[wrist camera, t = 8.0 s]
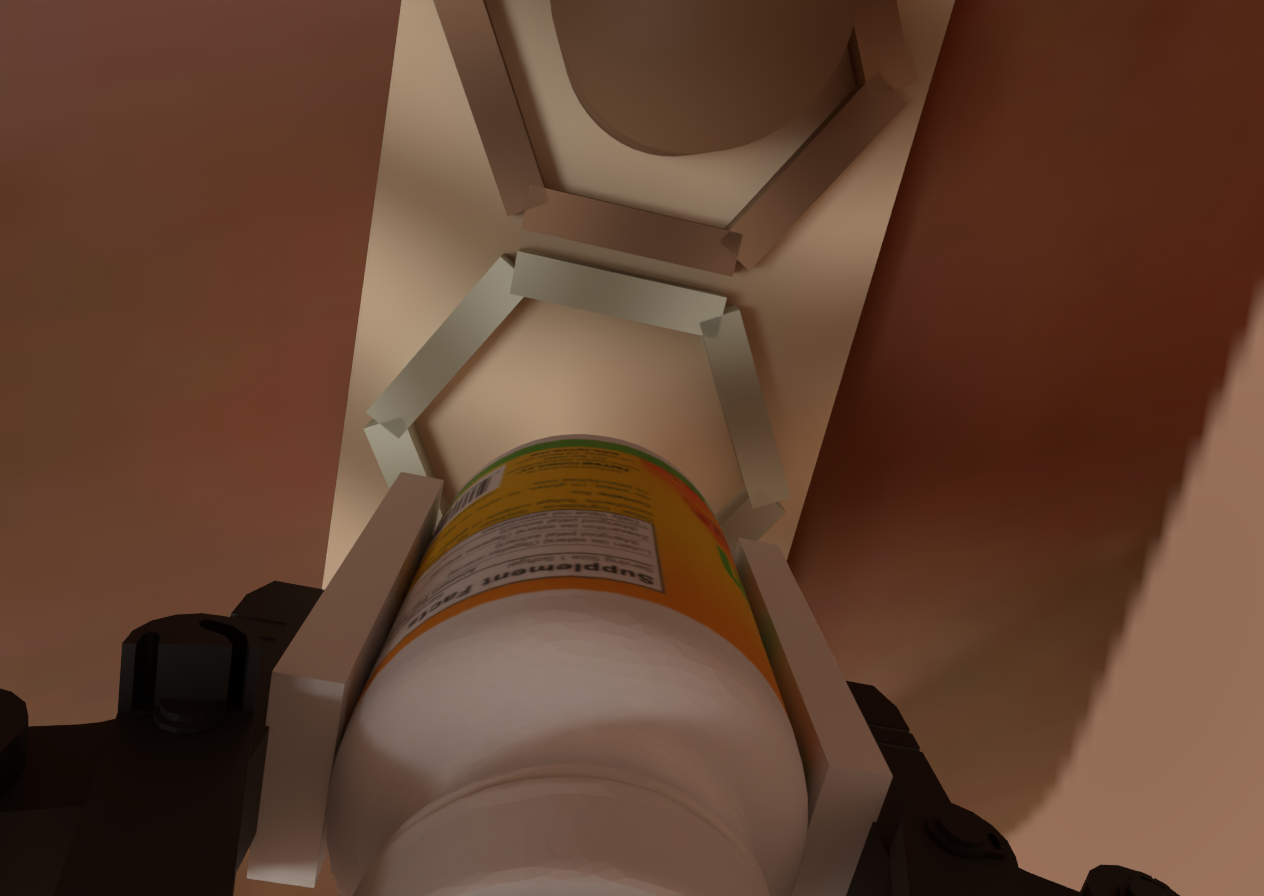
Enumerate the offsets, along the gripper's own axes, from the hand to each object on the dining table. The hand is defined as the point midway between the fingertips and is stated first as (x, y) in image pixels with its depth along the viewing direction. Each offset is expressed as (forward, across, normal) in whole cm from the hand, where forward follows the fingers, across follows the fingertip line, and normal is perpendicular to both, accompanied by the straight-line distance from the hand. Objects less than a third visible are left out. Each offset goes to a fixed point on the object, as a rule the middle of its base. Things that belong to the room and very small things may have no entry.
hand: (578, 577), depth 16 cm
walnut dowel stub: (+7, 0, +10) cm, 12 cm away
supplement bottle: (+1, 0, 0) cm, 1 cm away
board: (+8, 0, +5) cm, 10 cm away
